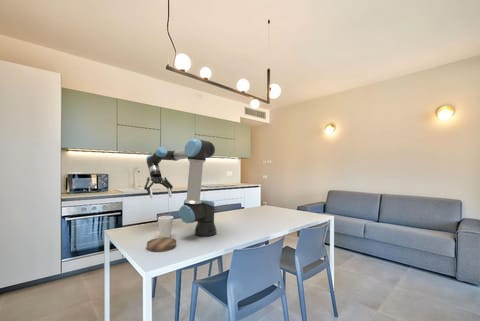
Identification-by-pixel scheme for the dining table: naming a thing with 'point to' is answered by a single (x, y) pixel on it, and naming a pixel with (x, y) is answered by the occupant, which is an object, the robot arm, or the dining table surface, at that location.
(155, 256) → the dining table surface
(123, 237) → the dining table surface
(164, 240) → the walnut pedestal
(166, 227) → the foam cup
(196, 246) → the dining table surface
